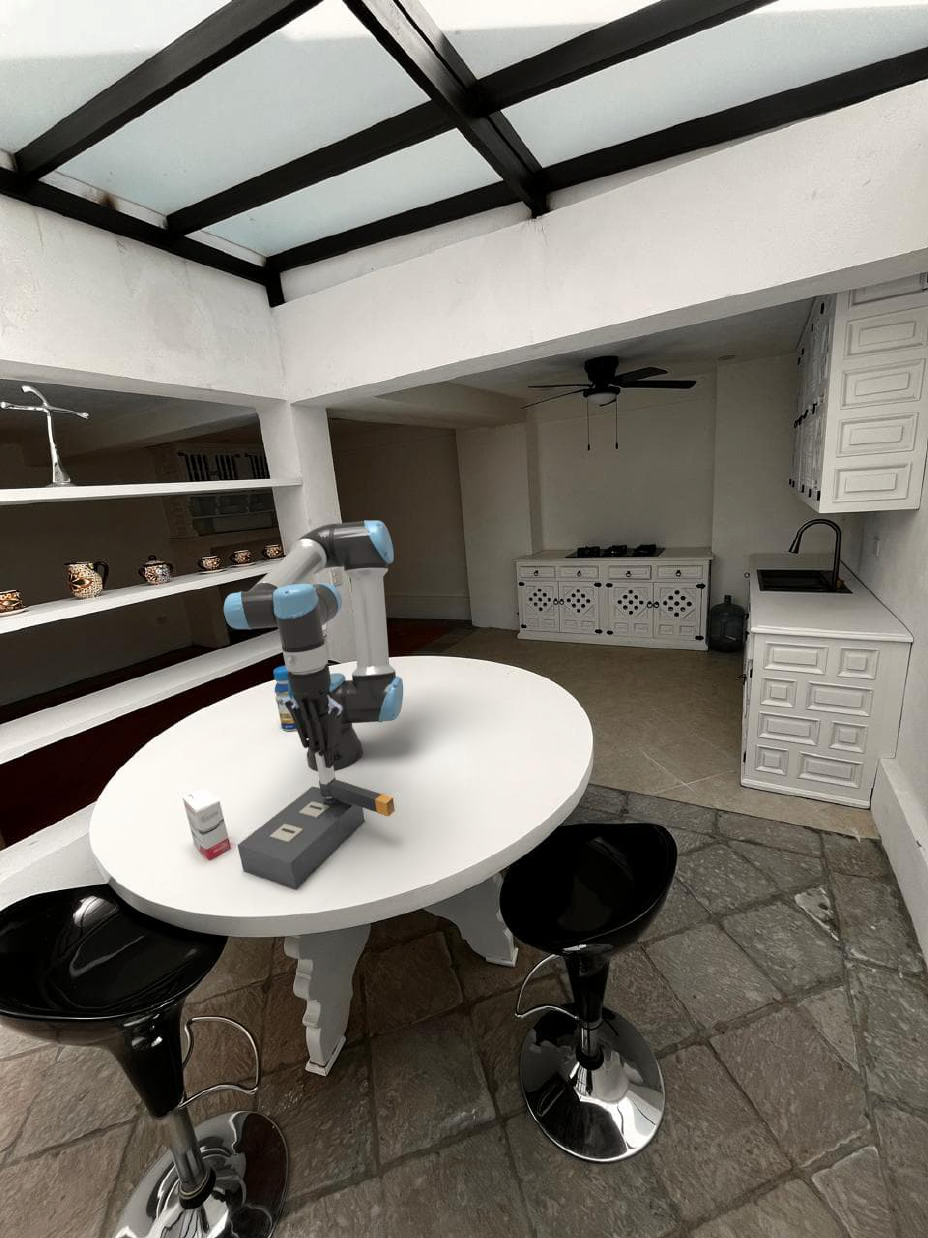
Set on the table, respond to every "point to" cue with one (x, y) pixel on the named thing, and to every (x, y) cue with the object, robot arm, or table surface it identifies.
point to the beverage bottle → (283, 698)
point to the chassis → (299, 838)
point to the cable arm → (358, 796)
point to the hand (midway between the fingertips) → (327, 780)
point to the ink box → (207, 823)
